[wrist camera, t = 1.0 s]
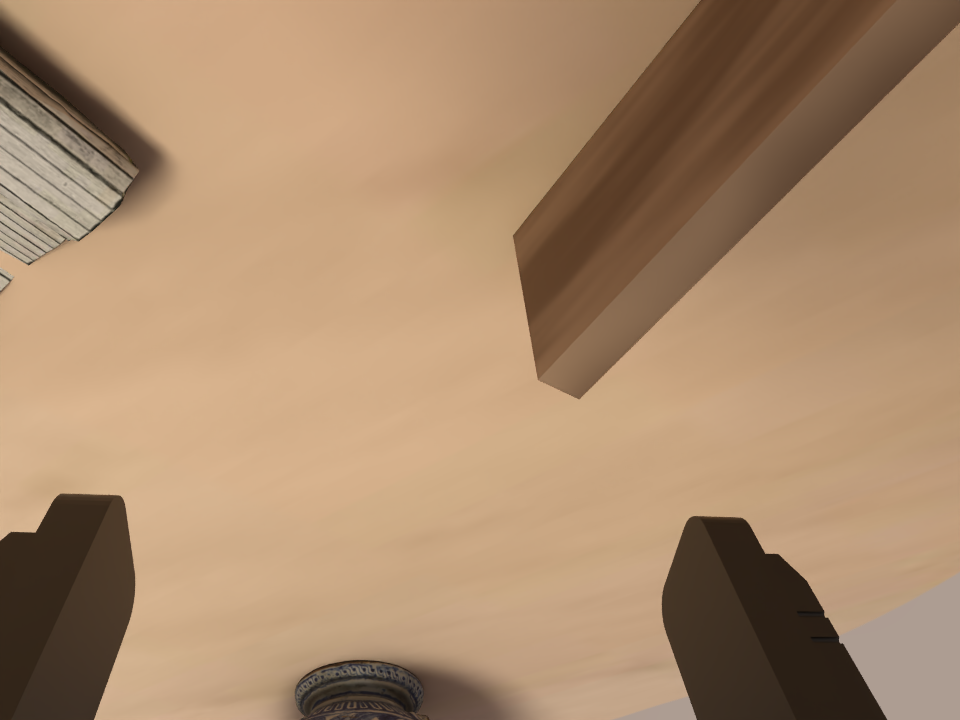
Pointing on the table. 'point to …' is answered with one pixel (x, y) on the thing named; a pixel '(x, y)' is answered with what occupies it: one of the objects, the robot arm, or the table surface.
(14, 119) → the mat
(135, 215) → the table surface
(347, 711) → the decorative vase
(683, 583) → the robot arm
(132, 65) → the table surface
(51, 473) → the table surface
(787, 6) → the walnut board
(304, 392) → the table surface
